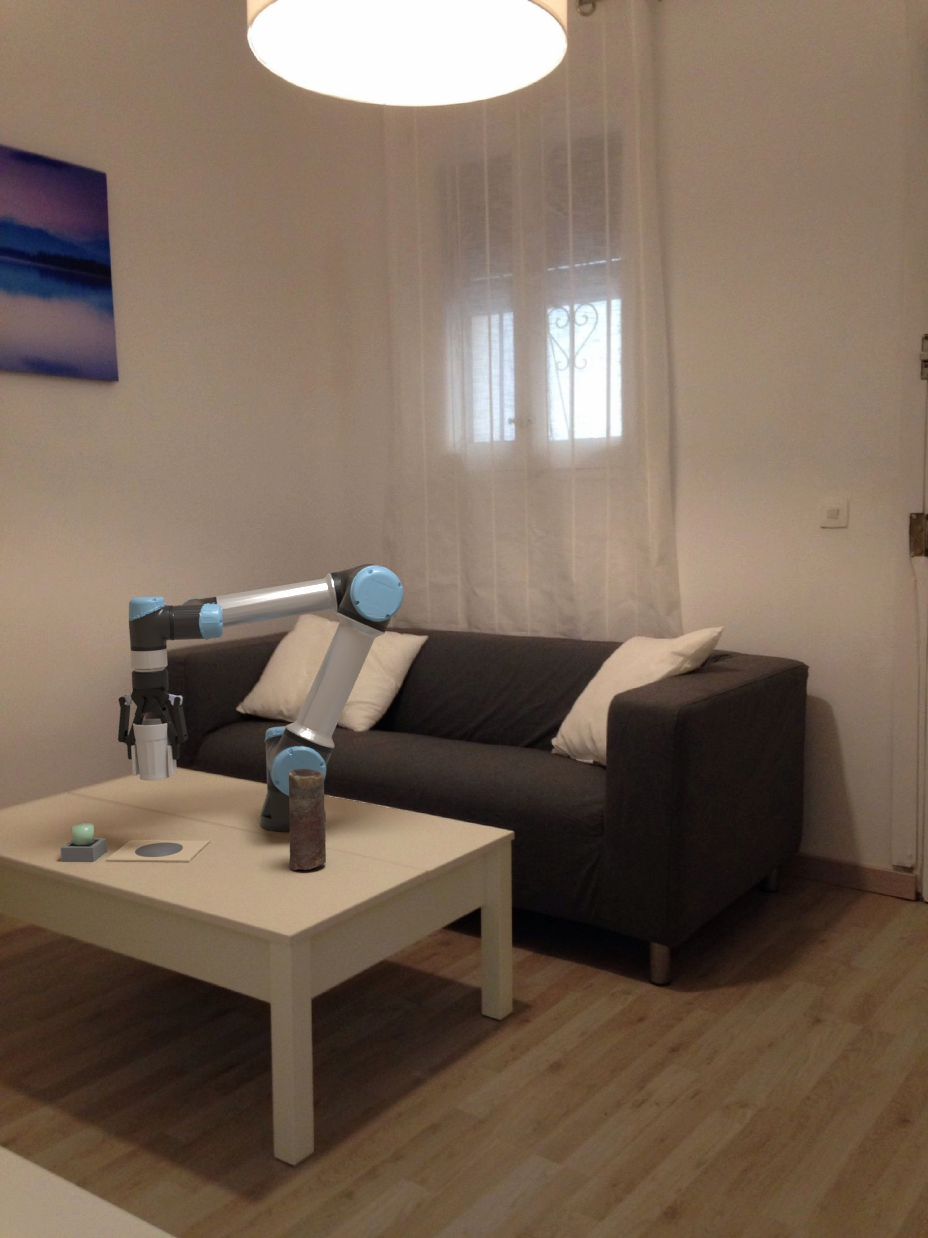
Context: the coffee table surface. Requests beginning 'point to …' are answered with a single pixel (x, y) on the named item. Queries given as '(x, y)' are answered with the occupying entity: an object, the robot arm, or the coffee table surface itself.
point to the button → (83, 834)
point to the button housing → (83, 851)
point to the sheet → (158, 851)
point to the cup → (152, 749)
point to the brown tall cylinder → (306, 819)
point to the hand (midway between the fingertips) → (154, 774)
